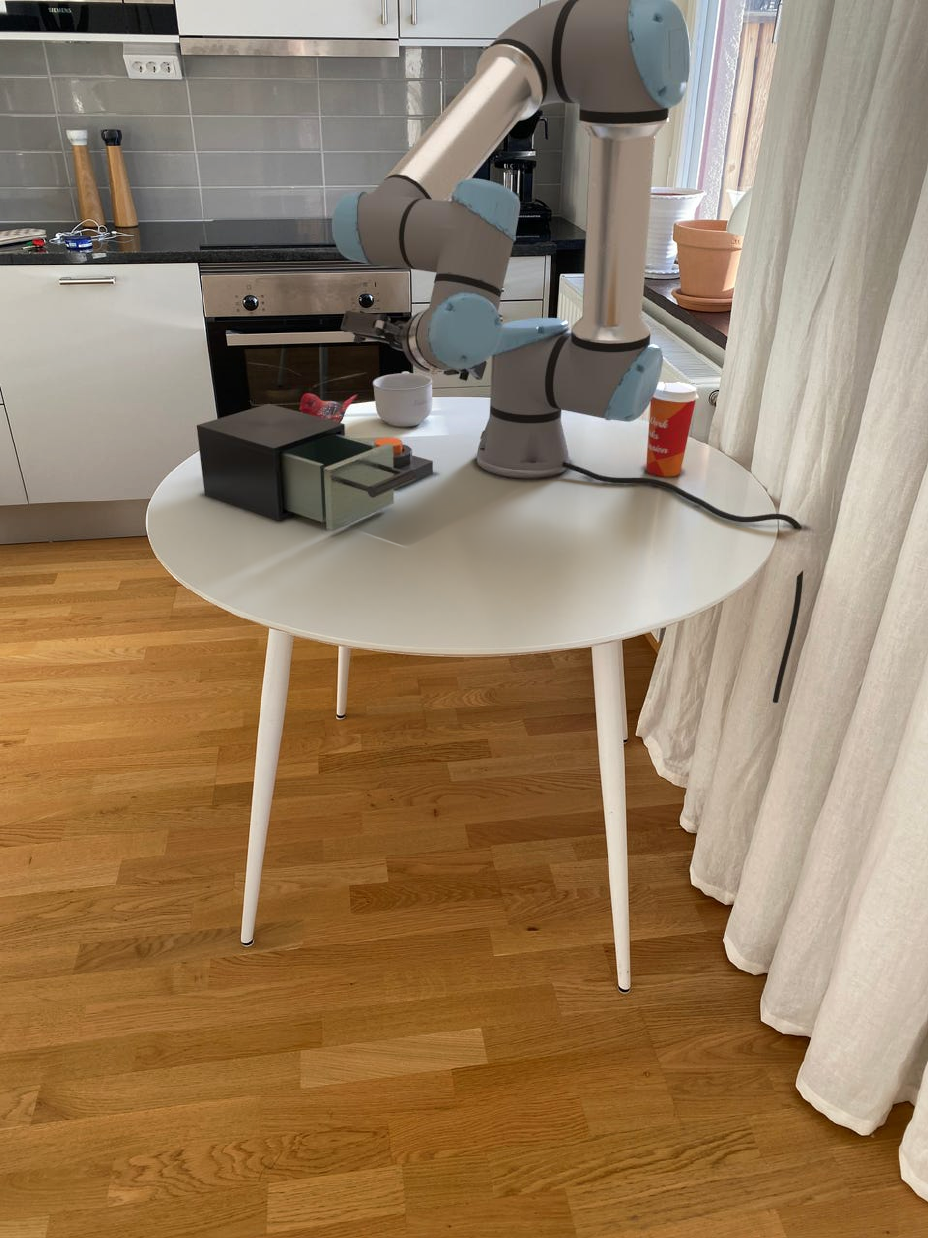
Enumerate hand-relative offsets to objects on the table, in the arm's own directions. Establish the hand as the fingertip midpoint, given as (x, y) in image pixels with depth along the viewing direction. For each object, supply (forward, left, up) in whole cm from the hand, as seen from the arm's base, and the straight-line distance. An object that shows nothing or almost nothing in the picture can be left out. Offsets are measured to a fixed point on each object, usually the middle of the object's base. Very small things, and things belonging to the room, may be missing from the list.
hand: (404, 349), depth 133 cm
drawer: (+1, +13, -21) cm, 24 cm away
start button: (+7, -5, -18) cm, 20 cm away
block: (+7, -5, -22) cm, 23 cm away
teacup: (+23, -29, -22) cm, 43 cm away
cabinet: (+15, +13, -22) cm, 29 cm away
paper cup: (-27, -35, -22) cm, 49 cm away
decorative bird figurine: (+25, -11, -22) cm, 35 cm away
